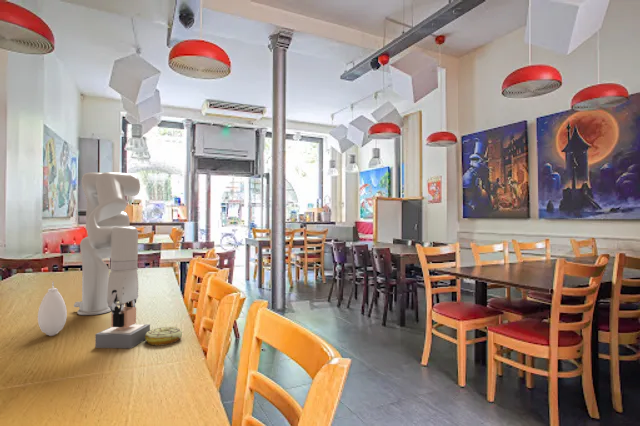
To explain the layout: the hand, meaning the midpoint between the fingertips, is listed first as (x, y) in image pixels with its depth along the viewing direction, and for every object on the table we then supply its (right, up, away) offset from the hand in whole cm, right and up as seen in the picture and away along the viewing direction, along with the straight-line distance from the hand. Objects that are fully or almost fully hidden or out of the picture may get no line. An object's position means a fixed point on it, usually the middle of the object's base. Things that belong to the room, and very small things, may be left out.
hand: (123, 323), depth 117 cm
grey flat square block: (0, -6, 0) cm, 6 cm away
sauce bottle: (-28, -6, +7) cm, 29 cm away
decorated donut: (+12, -6, +1) cm, 14 cm away
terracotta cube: (0, -1, 0) cm, 1 cm away
